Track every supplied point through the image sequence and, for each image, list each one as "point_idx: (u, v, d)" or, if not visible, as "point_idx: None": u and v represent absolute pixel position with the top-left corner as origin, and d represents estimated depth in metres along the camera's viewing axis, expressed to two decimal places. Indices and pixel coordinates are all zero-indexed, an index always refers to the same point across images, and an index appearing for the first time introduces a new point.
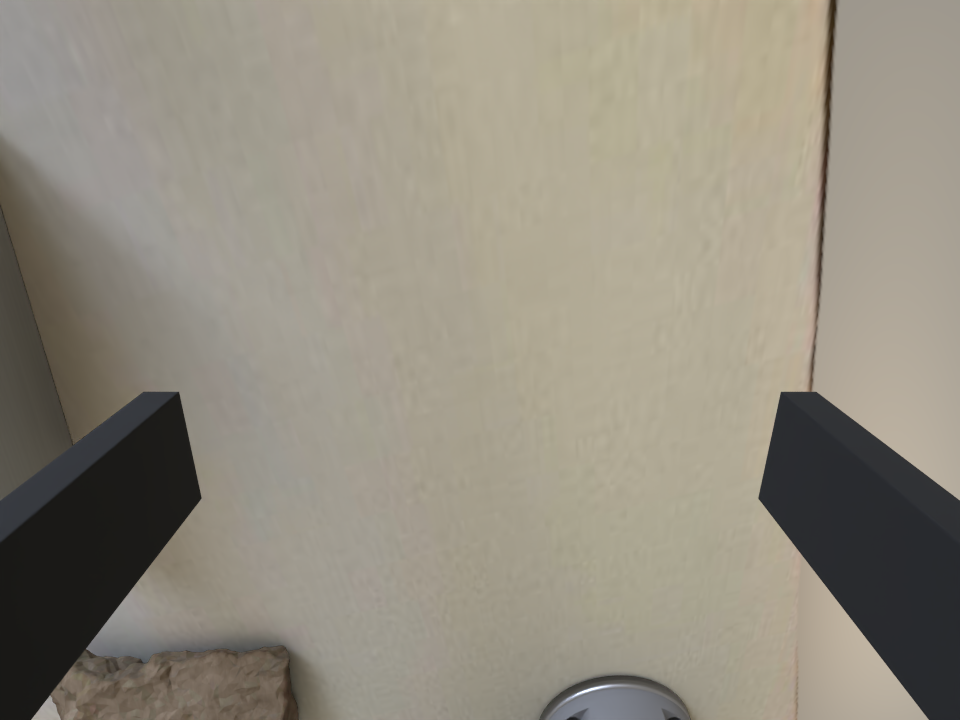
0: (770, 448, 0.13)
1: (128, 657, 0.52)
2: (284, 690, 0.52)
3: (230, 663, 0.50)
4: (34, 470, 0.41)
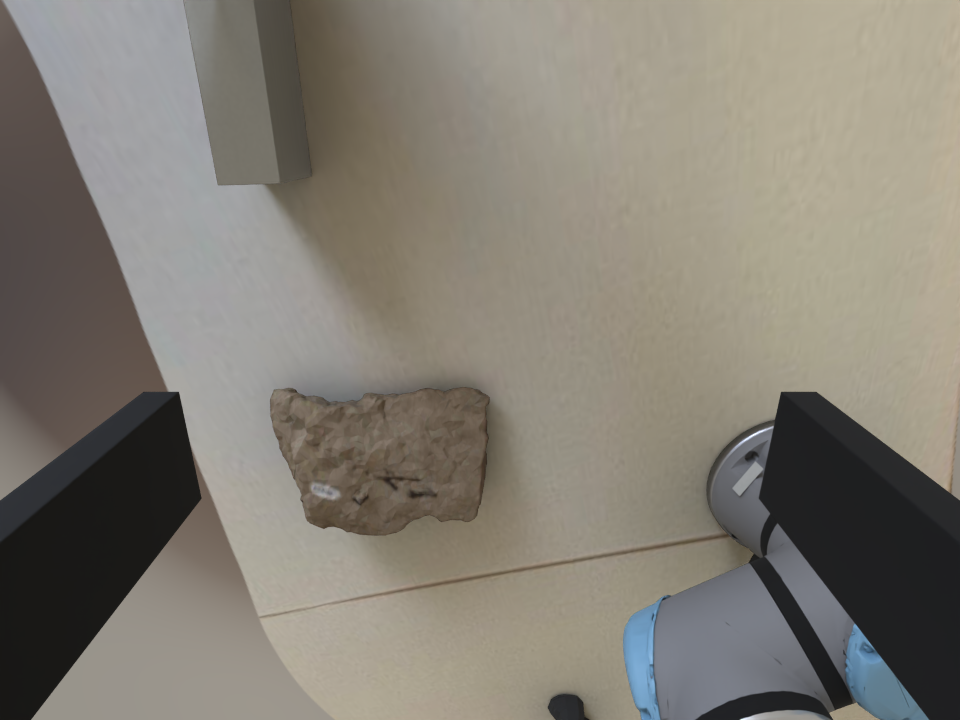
0: (771, 448, 0.13)
1: (338, 402, 0.56)
2: (484, 428, 0.56)
3: (439, 398, 0.54)
4: (297, 170, 0.45)
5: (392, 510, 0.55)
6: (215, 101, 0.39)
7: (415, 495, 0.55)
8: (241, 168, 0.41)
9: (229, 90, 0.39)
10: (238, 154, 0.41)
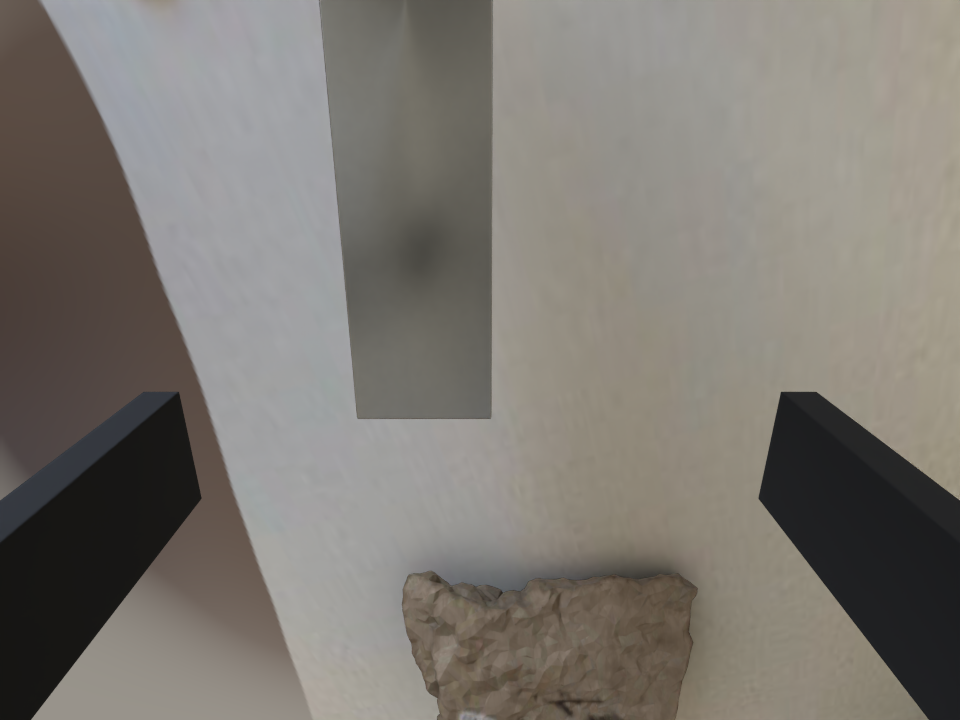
0: (770, 448, 0.13)
1: (489, 586, 0.41)
2: (687, 628, 0.41)
3: (633, 591, 0.40)
4: None
5: None
6: (372, 256, 0.17)
7: None
8: (412, 389, 0.19)
9: (407, 235, 0.17)
10: (410, 362, 0.19)
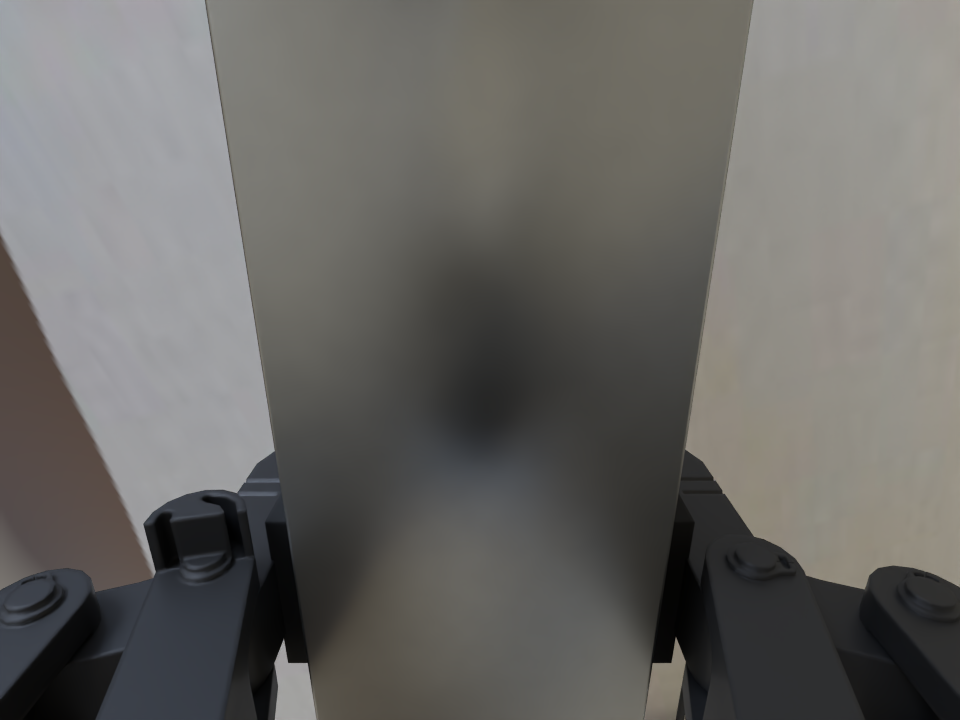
0: None
1: None
2: None
3: None
4: None
5: None
6: (367, 553, 0.07)
7: None
8: None
9: (458, 509, 0.07)
10: None
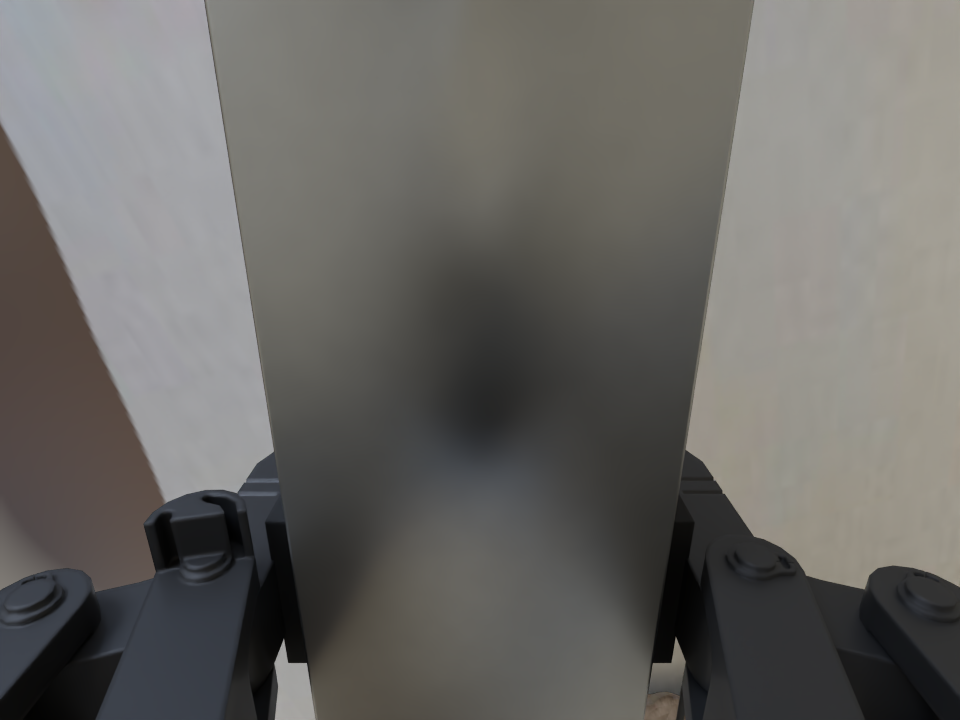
0: None
1: None
2: None
3: None
4: None
5: None
6: (366, 554, 0.07)
7: None
8: None
9: (457, 509, 0.07)
10: None
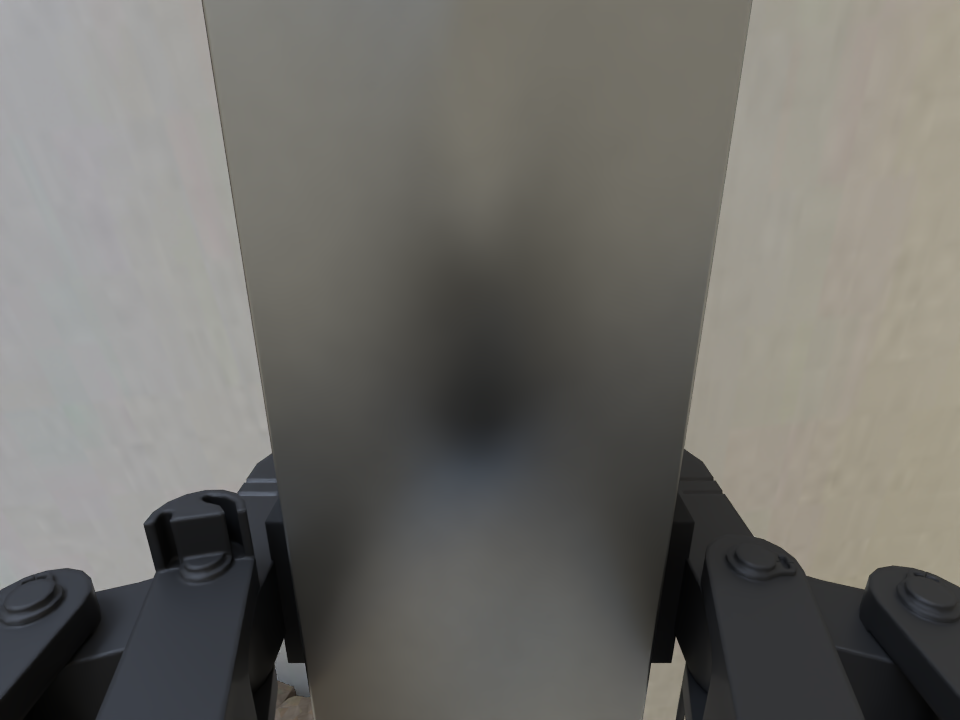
0: None
1: (278, 683, 0.33)
2: None
3: None
4: None
5: None
6: (364, 553, 0.07)
7: None
8: None
9: (455, 509, 0.07)
10: None
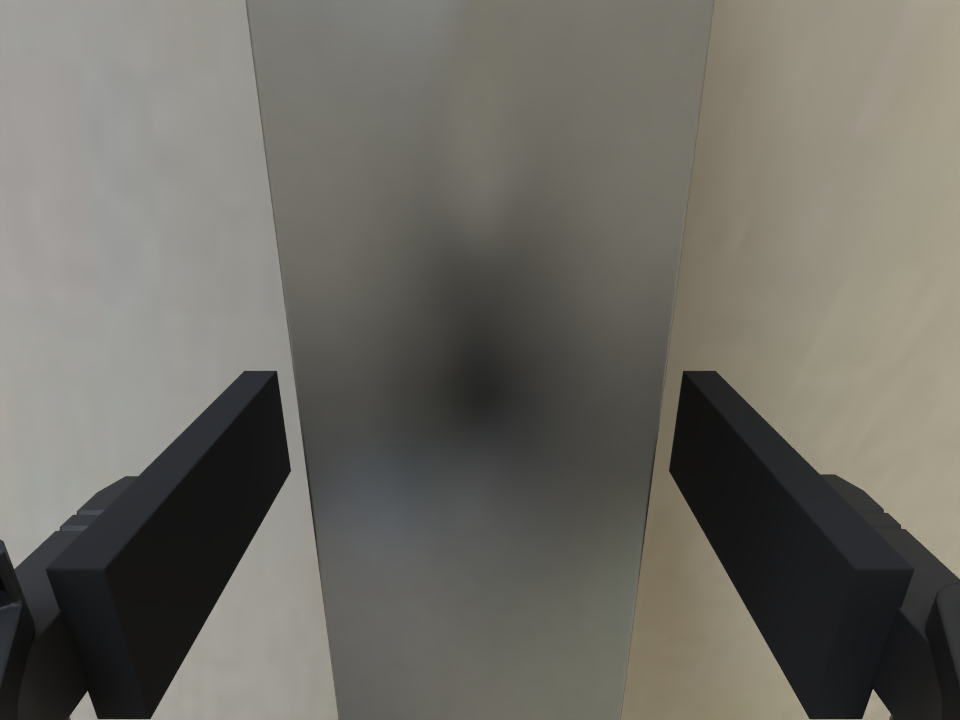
0: (678, 423, 0.14)
1: None
2: None
3: None
4: None
5: None
6: (379, 511, 0.08)
7: None
8: None
9: (461, 470, 0.07)
10: (455, 694, 0.09)
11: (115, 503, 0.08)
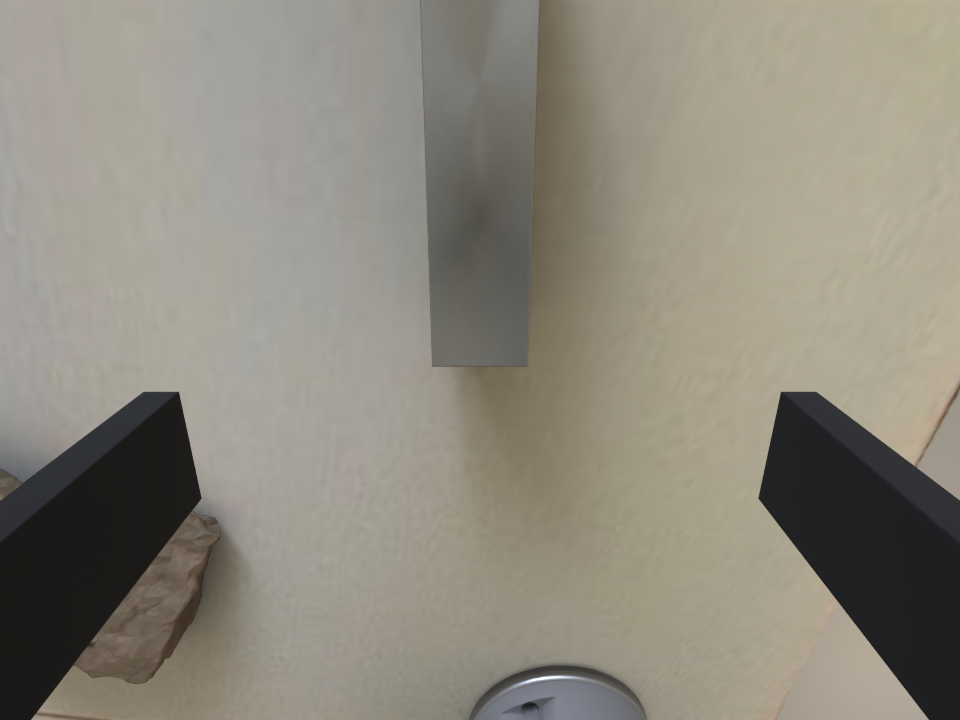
0: (771, 448, 0.13)
1: (1, 470, 0.38)
2: (198, 573, 0.40)
3: None
4: None
5: None
6: (449, 251, 0.25)
7: None
8: (472, 345, 0.27)
9: (474, 236, 0.25)
10: (471, 325, 0.27)
11: None
